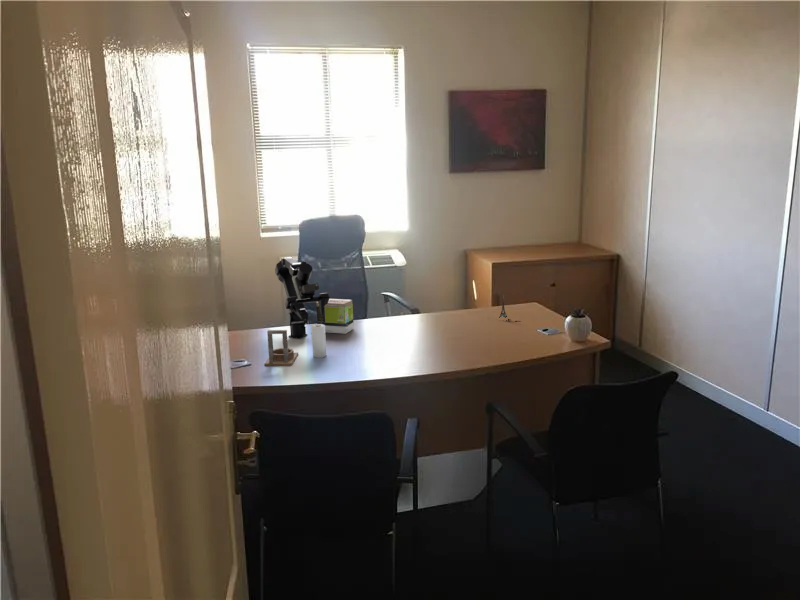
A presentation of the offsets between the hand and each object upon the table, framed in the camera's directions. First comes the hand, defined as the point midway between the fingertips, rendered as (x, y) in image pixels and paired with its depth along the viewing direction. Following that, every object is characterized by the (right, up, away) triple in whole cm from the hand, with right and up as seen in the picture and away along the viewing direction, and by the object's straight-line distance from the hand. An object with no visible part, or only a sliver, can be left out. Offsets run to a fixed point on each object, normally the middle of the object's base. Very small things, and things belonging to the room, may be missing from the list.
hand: (312, 317), depth 266 cm
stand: (-11, -17, -7) cm, 22 cm away
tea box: (+6, -8, +34) cm, 36 cm away
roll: (+3, -16, -3) cm, 17 cm away
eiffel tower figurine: (+89, -3, +48) cm, 101 cm away
